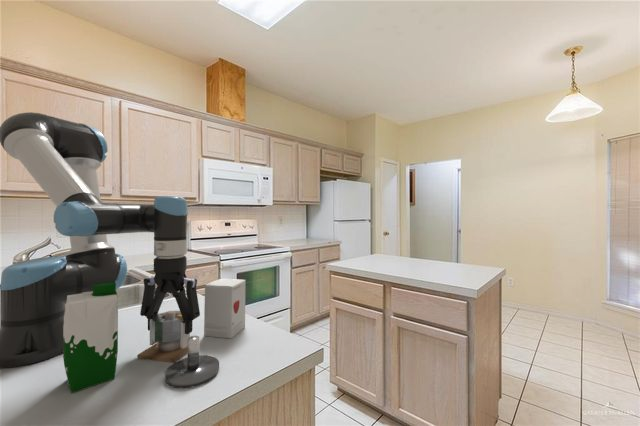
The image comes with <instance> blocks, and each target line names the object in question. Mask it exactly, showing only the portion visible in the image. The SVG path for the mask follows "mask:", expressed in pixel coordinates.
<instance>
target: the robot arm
mask: <svg viewBox="0 0 640 426" xmlns="http://www.w3.org/2000/svg"><path fill="white" fill-rule="evenodd" d="M0 145H1V146H2V148H3V149H4V151H5V152H6V153H7V154H8V155H9V156H10V157H11V158H14V159H16V160H18V161H20V163H21V164H22V166H23V167H24V168H25V169H26V171H28V173H29V175H31V177H32V178H33V179H34V180H35V182H36V183H37V185H39V186H40V188H41V189H42V190H43V192H44V193H45V194H46V196H47V197H48V198H49V199H50V200H51V202H52V203H53V204H54V205H55V207H56V208H55V210H54V212H53V223H54V224H55V226H54V227H55V229H56V231H57V232H58V233H59V234H61V235H62V236H65V237H69V242H70V250H68V252H66V254H65V255H64V256H62V255H61V256H60V255H59V256H58V255H57V256H47V257H37V258H32V259H29V260H22V261H18V262H16V263H13V264H11V265H8V266H6V267H5V268H4V269H3V270H2V272H1V274H0V275H1V277H0V368H2V369H5V368H14V367H21V366H26V365H30V364H34V363H38V362H41V361H46V360H48V359H51V358H54V357H56V356H58V355H60V354H63V326H64V314H65V308H66V302H67V296H68V295H74V294H81V293H83V292H92V291H93V285H94V284H97V283H102V282H115V283H116V291H118V290H119V289H120V288H121V287H122V286H123V284H124V282H125V280H126V278H127V275H128V264H127V260H126V259H125V258H124V256H123V255H122V254H119V253H116V248H115V246H112V245H111V244H110V243H109V242H108V236H107V235H114V234H115V235H117V234H133V233H153V256H154V257H155V258H153V272H154V273H155V274H154V275H152V276H148V277H145V278H143V287H144V289H143V294H142V302H141V305H140V306H141V307H140V313H139V314H140V316H141V317H143V316H144V317H146V319H147V330H148V331H149V346H153V345H154V344H156V343H157V342H154V341H153V340H151V321H152V318H153V316H155V315H158V314H159V311H160V308H161V306H162V304H163V302H164V299H165V297H166V294H168V293H169V294H171V295H172V297H173V298H175V302H176V304H177V307H178V308H179V311H180V312H181V315H182V317H183V320H184V321H182V322H181V331H180V348H184V347H186V346H187V340H188V338H189V337H191V333H192V332H193V321H194V320H195V319H197V318H198V317H200V316H201V312H200V304H199V299H198V293H197V292H198V291H197V284H198V283H197V282H198V280H197V278H188V277H187V275H186V270H187V264H188V263H187V262H188V261H187V259H188V258H187V256H186V254H187V253H188V252H187V251H188V247H187V246H188V241H187V240H188V239H187V238H188V237H187V235H188V234H187V233H188V232H187V229H188V224H187V223H188V206H187V200H186V198H184V197H183V196H170V195H169V196H168V195H160V196H156V197H154V199H153V203H152V204H150V203H149V204H147V203H145V204H144V203H117V202H116V203H115V202H114V203H113V202H102V201H101V200H102V199H101V193H100V187H99V181H98V174H97V170H99V168H101V166H102V163H103V162H104V161H105V160H106V159H107V153H108V151H109V150H108V149H109V148H108V143H107V140H106V137H105V136H104V134H103V133H102V132H101V131H100V130H98V128H96V127H92V126H89V125H87V124H85V123H80V122H79V123H78V122H74V121H72V120H71V121H70V120H66V119H63V118H58V117H55V116H52V115H51V116H50V115H47V114H44V113H40V112H29V111H28V112H20V113H17V114H14V115H12V116H10V117H8V118H7V119H5V120H4V121H3V122H2V123H1V124H0Z"/></svg>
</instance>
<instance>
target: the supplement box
mask: <svg viewBox="0 0 640 426" xmlns="http://www.w3.org/2000/svg"><path fill="white" fill-rule="evenodd" d="M246 284H247V283H246V279H241V278H240V279H239V278H237V279H233V278H219V279H216V280H213V281H211V282H209V283H207V284H204V312H203V313H204V318H203V319H204V320H203V336H205V337H206V336H207V337H214V338H224V339H232V338H234V337H235V336H236V335H237V334H239V333H240V332H241V331H242V330H243V329H245V328H246Z"/></svg>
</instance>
